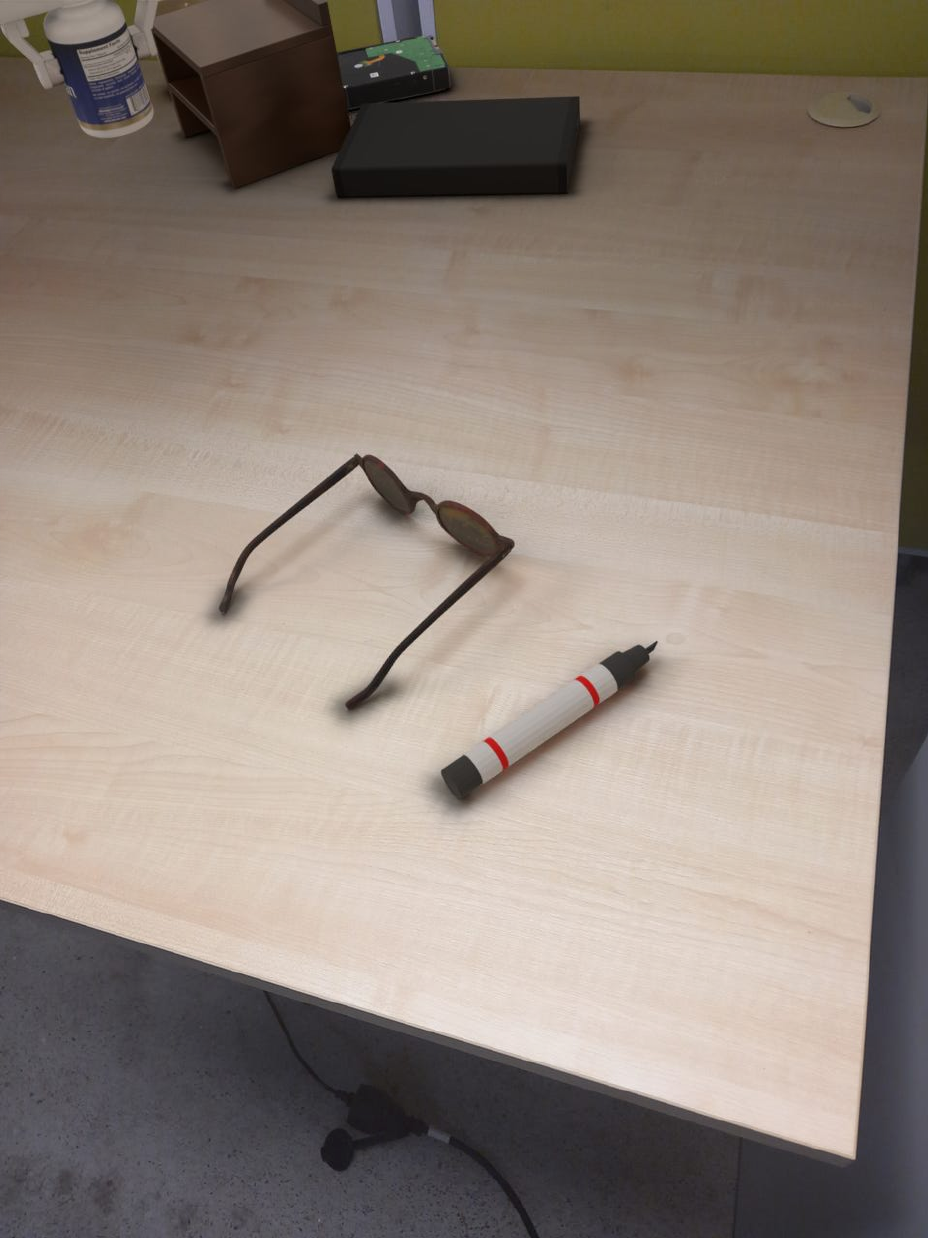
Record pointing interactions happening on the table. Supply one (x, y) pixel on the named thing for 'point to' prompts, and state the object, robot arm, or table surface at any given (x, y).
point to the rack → (256, 81)
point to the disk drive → (393, 71)
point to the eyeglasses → (449, 514)
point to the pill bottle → (99, 67)
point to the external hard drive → (459, 147)
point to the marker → (544, 720)
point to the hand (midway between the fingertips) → (99, 69)
